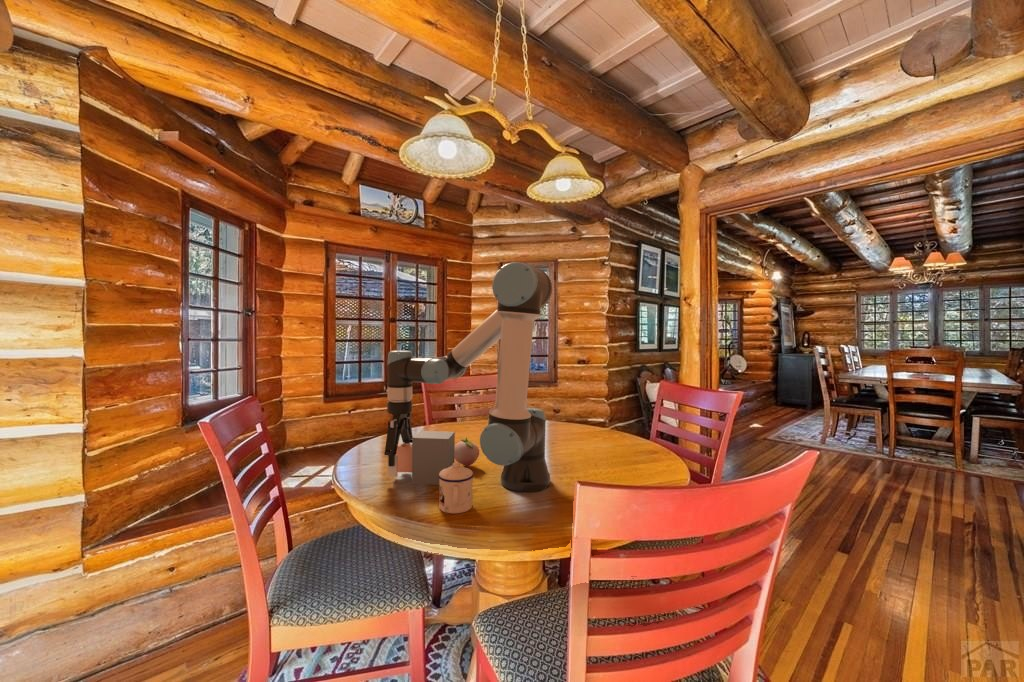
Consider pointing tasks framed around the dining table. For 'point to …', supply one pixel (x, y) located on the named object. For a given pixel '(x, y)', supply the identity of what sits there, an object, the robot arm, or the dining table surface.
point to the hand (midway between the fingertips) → (399, 469)
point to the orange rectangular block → (404, 458)
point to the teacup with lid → (455, 489)
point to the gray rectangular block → (431, 455)
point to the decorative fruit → (466, 452)
